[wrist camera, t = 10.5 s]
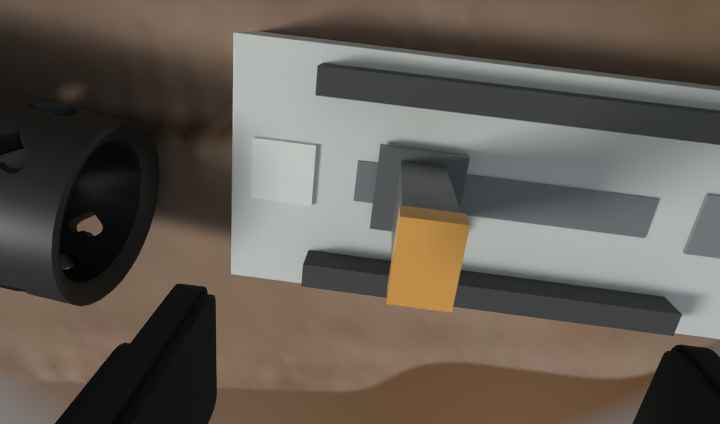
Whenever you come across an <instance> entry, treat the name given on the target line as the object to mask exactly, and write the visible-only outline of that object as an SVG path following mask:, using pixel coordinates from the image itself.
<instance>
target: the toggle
mask: <svg viewBox="0 0 720 424" xmlns="http://www.w3.org/2000/svg"><path fill="white" fill-rule="evenodd" d="M469 160H470V157H469V156H468V155H467V154H459V153H451V152H443V151H435V150H427V149H419V148H411V147H403V146H395V145H387V144H380V151H379V159H378V167H377V175H376V183H375V191H374V198H373V206H372V214H371V222H370V229H376V230H384V231H391V232H392V238H391V266H390V273H389V279H388V286H387V304H391V305H399V306H406V307H414V308H421V309H429V310H436V311H444V312H451V313H452V309H453V304H454V300H455V295H456V290H457V285H458V281H459V276H460V271H461V267H462V262H463V257H464V253H465V248H466V243H467V239H468V234H469V229H470V223H469V221H468V218H467V215H466V214H465V213H461V211H460V205H461V200H462V195H463V190H464V185H465V180H466V175H467V170H468V165H469Z"/></svg>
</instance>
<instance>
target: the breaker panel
mask: <svg viewBox="0 0 720 424" xmlns="http://www.w3.org/2000/svg"><path fill="white" fill-rule="evenodd" d="M322 63H330V64H339V65H347V66H355V67H363V68H372V69H380V70H388V71H397V72H405V73H413V74H421V75H430V76H438V77H446V78H454V79H463V80H471V81H479V82H488V83H496V84H504V85H512V86H521V87H529V88H537V89H546V90H554V91H562V92H570V93H579V94H587V95H595V96H604V97H612V98H620V99H628V100H637V101H645V102H653V103H662V104H670V105H678V106H686V107H695V108H703V109H711V110H719V111H720V86H713V85H704V84H696V83H688V82H679V81H671V80H662V79H654V78H646V77H637V76H629V75H621V74H612V73H604V72H595V71H587V70H579V69H570V68H562V67H554V66H545V65H537V64H528V63H520V62H512V61H503V60H495V59H487V58H478V57H470V56H461V55H453V54H445V53H436V52H428V51H420V50H411V49H403V48H394V47H386V46H378V45H369V44H361V43H353V42H344V41H336V40H328V39H319V38H311V37H302V36H294V35H286V34H277V33H269V32H261V31H253V32H235V33H234V41H233V135H232V228H231V274H235V275H243V276H250V277H258V278H265V279H273V280H280V281H288V282H295V283H302V270H303V263H304V260H305V258H306V255H307V253H308V250H313V251H321V252H328V253H336V254H343V255H351V256H359V257H366V258H374V259H382V260H389V261H391V238H392V232H391V231H384V230H376V229H370V222H371V214H372V206H373V198H374V191H375V183H376V175H377V167H378V159H379V151H380V144H387V145H395V146H403V147H411V148H419V149H427V150H435V151H443V152H451V153H459V154H467V155H468V156H469V157H470V160H469V165H468V170H467V175H466V180H465V185H464V190H463V195H462V200H461V205H460V211H461V213H465V214H466V215H467V218H468V221H469V223H470V229H469V234H468V239H467V243H466V248H465V253H464V257H463V262H462V267H461V270H465V271H473V272H481V273H488V274H496V275H504V276H511V277H519V278H526V279H534V280H542V281H549V282H557V283H564V284H572V285H580V286H587V287H595V288H603V289H610V290H618V291H625V292H633V293H641V294H648V295H656V296H664V297H665V298H666V299H667V300H668V301H669V302H670V303H671V304H672V305H673V306H674V307H675V308H676V309H677V310H678V311H679V312H680V313H681V314H682V316H681V319H680V321H679V323H678V326H677V328H676V331H675V333H678V334H686V335H693V336H701V337H708V338H716V339H720V145H716V144H708V143H700V142H691V141H683V140H675V139H667V138H659V137H651V136H642V135H634V134H626V133H618V132H610V131H602V130H594V129H585V128H577V127H569V126H561V125H553V124H545V123H536V122H528V121H520V120H512V119H504V118H496V117H488V116H479V115H471V114H463V113H455V112H447V111H439V110H430V109H422V108H414V107H406V106H398V105H390V104H382V103H373V102H365V101H357V100H349V99H341V98H333V97H324V96H316V95H315V93H316V80H317V66H318V65H320V64H322Z"/></svg>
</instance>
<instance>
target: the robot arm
mask: <svg viewBox="0 0 720 424" xmlns="http://www.w3.org/2000/svg"><path fill="white" fill-rule="evenodd" d="M216 396H217V376H216V301H215V296H214V295H210V294H207V289H206V288H205V287H203V286H194V285H186V284H176V285H175V286H174V287H173V289H172V290H171V291H170V293H169V294H168V295H167V296H166V298H165V299H164V300H163V302H162V303H161V304H160V306H159V307H158V308H157V309H156V311H155V312H154V313H153V315H152V316H151V317H150V318H149V320H148V321H147V322H146V324H145V325H144V326H143V328H142V329H141V330H140V331H139V333H138V334H137V335H136V337H135V338H134V339H133V341H132V342H131V343H130V344H129V343H123V344H121V345H119V346H118V347H117V348H116V349H115V350H114V351H113V352H112V353H111V354H110V356H109V357H108V358H107V359H106V361H105V362H104V363H103V364H102V366H101V367H100V368H99V369H98V371H97V372H96V373H95V374H94V376H93V377H92V378H91V379H90V381H89V382H88V383H87V384H86V386H85V387H84V388H83V390H82V391H81V392H80V393H79V394H78V396H77V397H76V398H75V399H74V401H73V402H72V403H71V404H70V405H69V407H68V408H67V409H66V411H65V412H64V413H63V414H62V415H61V417H60V418H59V419H58V420H57V422H56V423H55V424H208V422H209V420H210V418H211V415H212V413H213V410H214V407H215V403H216ZM633 424H720V357H719V356H718V355H717V354H716V353H715V352H714V351H712V350H711V349H708V348H703V347H695V346H686V345H676V346H675V347H673V348H672V350H671V351H667V352H666V353H664V355H663V357H662V359H661V361H660V363H659V366H658V368H657V370H656V372H655V375H654V377H653V379H652V382H651V384H650V386H649V388H648V390H647V393H646V395H645V397H644V399H643V401H642V404H641V406H640V408H639V411H638V413H637V415H636V418H635V419H634V422H633Z"/></svg>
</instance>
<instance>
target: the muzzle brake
mask: <svg viewBox="0 0 720 424" xmlns="http://www.w3.org/2000/svg"><path fill="white" fill-rule="evenodd" d="M158 177H159V164H158V156H157V152H156V147H155V145H154V143H153V140H152V138H151V136H150V134H149V133H148V132H147V130H146V129H145V128H144V127H143V126H142V125H140V124H139V123H137V122H134V121H130V120H126V119H122V118H118V117H114V116H110V115H106V114H102V113H98V112H94V111H90V110H86V109H82V108H78V107H73V106H69V105H65V104H61V103H57V102H53V101H49V100H45V99H41V98H37V97H33V96H29V95H25V94H21V93H17V92H13V91H9V90H5V89H0V287H2V288H6V289H10V290H15V291H23V292H26V293H27V294H31V295H35V296H39V297H43V298H48V299H52V300H56V301H60V302H64V303H69V304H73V305H77V306H85V305H90V304H93V303H95V302H97V301H99V300H101V299H102V298H103V297H105V296H106V295H107V294H109V293H110V292H111V291H112V290H114V288H115V287H116V286H117V285H118V284H119V283H120V282H121V281H122V280H123V279H124V277H125V276H126V274H127V273H128V272H129V270H130V269H131V267H132V265H133V264H134V262H135V260H136V259H137V257H138V255H139V253H140V251H141V249H142V247H143V244H144V242H145V240H146V237H147V234H148V232H149V229H150V226H151V222H152V219H153V216H154V211H155V206H156V202H157V190H158ZM93 215H96V216H97V218H98V219H99V220H100V222H101V223H102V225H103V230H102V232H101V233H100V234H98V235H96V236H93V235H92V234H91V233H90V232H86V231H80V232H78V231H77V228H76V227H77V224H79V223H80V222H81V221H82V220H85V219H87V218H89V217H91V216H93ZM68 267H70V268H69V269H65V268H68Z"/></svg>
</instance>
